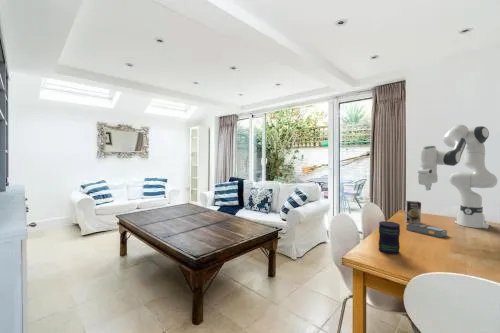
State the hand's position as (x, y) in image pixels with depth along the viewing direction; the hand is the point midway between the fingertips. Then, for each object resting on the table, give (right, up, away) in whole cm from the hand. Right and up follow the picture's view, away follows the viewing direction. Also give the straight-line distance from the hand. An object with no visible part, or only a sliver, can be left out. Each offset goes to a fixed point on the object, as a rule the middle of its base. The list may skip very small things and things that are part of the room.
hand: (428, 190), depth 166 cm
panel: (-2, -27, -8) cm, 28 cm away
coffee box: (+4, -27, +21) cm, 34 cm away
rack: (-4, -28, -4) cm, 28 cm away
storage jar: (-47, -30, -35) cm, 66 cm away
